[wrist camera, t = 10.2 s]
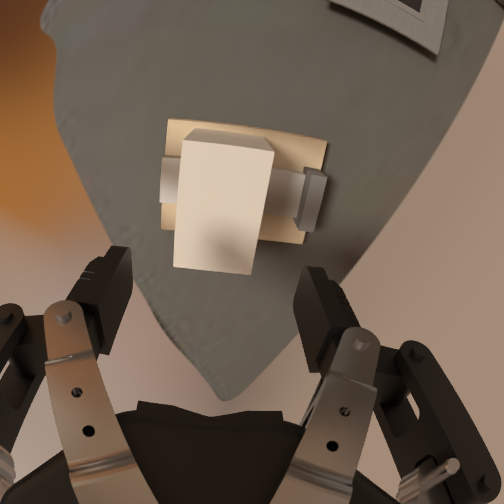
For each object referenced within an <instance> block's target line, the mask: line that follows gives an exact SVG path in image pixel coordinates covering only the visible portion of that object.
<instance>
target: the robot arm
mask: <svg viewBox="0 0 504 504" xmlns="http://www.w3.org/2000/svg"><path fill="white" fill-rule="evenodd" d="M497 1H498V2H499V3H500V4H501V5H503V6H504V0H497ZM132 286H133V276H132V260H131V249H130V248H129V247H121V246H111V247H110V249H109V250H108V252H107V253H106V255H105V256H104V257H97V258H96V259H94V260H93V261H91V262H90V263H89V264H88V265H87V267H86V268H85V270H84V272H83V273H82V274H81V276H80V279H78V281H77V282H76V284H75V285H74V287H73V289H72V290H71V292H70V293H69V295H68V296H67V298H66V300H63V301H58V302H56V303H54V304H52V305H50V306H49V307H48V308H47V309H46V311H45V313H44V315H36V316H35V315H34V316H25V315H24V313H23V310H22V308H21V307H20V306H19V305H17V304H13V303H8V304H4V305H2V306H0V373H1V371H2V370H3V368H4V366H5V364H6V363H7V361H9V362H10V364H9V366H8V367H7V369H6V371H5V373H4V374H3V376H2V378H1V380H0V504H487V503H489V502H491V501H493V500H494V499H495V498H496V497H497V496H498V494H499V492H500V489H501V477H500V474H499V472H498V470H497V467H496V465H495V463H494V461H493V459H492V457H491V456H490V453H489V451H488V449H487V447H486V445H485V443H484V441H483V439H482V437H481V436H480V434H479V432H478V430H477V428H476V426H475V424H474V423H473V421H472V419H471V417H470V415H469V414H468V412H467V410H466V408H465V407H464V405H463V403H462V402H461V400H460V398H459V396H458V395H457V393H456V392H455V390H454V388H453V386H452V385H451V383H450V381H449V380H448V378H447V376H446V375H445V373H444V372H443V370H442V368H441V367H440V365H439V364H438V362H437V361H436V359H435V358H434V356H433V354H432V353H431V352H430V350H429V349H428V348H427V347H426V346H425V345H423V344H422V343H419V342H417V341H412V340H409V341H406V342H404V343H403V344H402V346H401V347H400V349H399V350H398V349H393V348H389V347H385V346H381V345H380V342H379V340H378V338H377V337H376V336H375V335H374V334H373V333H372V332H370V331H368V330H366V329H364V328H361V327H360V325H359V322H358V320H357V318H356V316H355V314H354V312H353V310H352V308H351V306H350V304H349V302H348V300H347V299H346V296H345V294H344V292H343V290H342V288H341V287H340V286H339V285H338V284H337V283H336V282H335V281H332V280H329V279H328V277H327V275H326V273H325V270H324V269H323V268H321V267H311V266H304V267H303V269H302V272H301V276H300V279H299V283H298V286H297V290H296V293H295V296H294V302H293V310H294V314H295V318H296V322H297V326H298V330H299V333H300V337H301V341H302V344H303V348H304V353H305V357H306V361H307V364H308V368H309V372H310V373H317V372H318V373H320V374H321V379H320V381H319V383H318V385H317V387H316V390H315V392H314V394H313V396H312V399H311V401H310V403H309V405H308V408H307V410H306V412H305V414H304V416H303V418H302V420H301V422H300V424H299V425H297V424H294V423H291V422H287V421H283V414H282V411H244V412H238V413H233V414H227V415H221V416H215V417H208V416H204V415H201V414H198V413H194V412H191V411H188V410H185V409H182V408H179V407H176V406H172V405H165V404H157V403H150V402H144V401H138V405H137V410H134V411H126V412H122V413H119V414H115V413H114V410H113V407H112V405H111V402H110V400H109V397H108V394H107V392H106V389H105V386H104V383H103V380H102V377H101V374H100V371H99V368H98V365H97V359H98V356H99V354H105V355H109V354H110V351H111V348H112V345H113V342H114V339H115V337H116V334H117V331H118V328H119V326H120V322H121V320H122V317H123V315H124V312H125V310H126V307H127V304H128V301H129V299H130V297H131V294H132V288H133V287H132ZM44 376H46V377H47V383H48V389H49V393H50V398H51V404H52V408H53V413H54V417H55V421H56V425H57V429H58V433H59V437H60V440H61V444H62V447H63V450H62V451H60V452H59V453H58V454H56V455H55V456H53V457H52V458H51V459H49V460H48V461H46V462H45V463H44V464H42V465H41V466H39V467H38V468H37V469H35V470H34V471H32V472H31V473H29V474H28V475H27V476H25V477H24V478H22V479H21V480H19V481H18V482H16V483H15V484H14V482H13V480H14V479H15V477H16V473H15V471H14V462H13V458H12V456H11V455H10V453H11V451H12V448H13V446H14V443H15V440H16V438H17V435H18V433H19V431H20V428H21V426H22V423H23V421H24V419H25V417H26V414H27V412H28V410H29V408H30V405H31V403H32V401H33V399H34V397H35V395H36V393H37V391H38V388H39V386H40V384H41V382H42V380H43V378H44ZM410 393H411V394H412V396H413V398H414V400H415V402H416V404H417V406H418V408H419V412H420V415H419V419H417V417H416V415H415V413H414V411H413V409H412V407H411V405H410V403H409V401H408V399H407V396H408V395H409V394H410ZM373 411H374V413H375V415H376V418H377V420H378V422H379V425H380V427H381V430H382V432H383V434H384V437H385V439H386V442H387V444H388V447H389V449H390V452H391V454H392V457H393V459H394V462H395V464H396V467H397V470H398V472H399V474H400V477H401V482H400V484H399V488H398V493H397V494H396V499H394V498H393V497H391V496H390V495H389V494H387V493H386V492H385V491H384V490H382V489H381V488H380V487H378V486H377V485H376V484H374V483H373V482H372V481H370V480H369V479H368V478H367V477H365V476H364V475H363V474H362V473H360V472H359V471H358V470H357V469H356V468H357V465H358V462H359V459H360V456H361V452H362V449H363V446H364V442H365V439H366V435H367V432H368V427H369V424H370V420H371V416H372V412H373Z"/></svg>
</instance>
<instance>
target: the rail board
mask: <svg viewBox="0 0 504 504" xmlns="http://www.w3.org/2000/svg"><path fill="white" fill-rule="evenodd" d="M194 128H204V129H213V130H222V131H230V132H237V133H244V134H251V135H257V136H263V137H264V138H265V140H266V141H267V142H268V144H269V145H270V146H271V148H272V149H273V150H274V152H275V153H274V158H273V163H272V169H271V174H270V179H269V184H268V189H267V194H266V199H265V204H264V209H263V215H262V220H261V225H260V230H259V235H258V239H260V240H269V241H278V242H287V243H295V244H303V240H304V236H305V232H314V229H315V225H316V221H317V217H318V214H319V210H320V206H321V202H322V198H323V194H324V190H325V186H326V182H327V178H328V177H327V176H325V175H324V174H323V173H322V172H321V167H322V162H323V158H324V154H325V149H326V144H327V141H325V140H323V139H318V138H314V137H309V136H304V135H299V134H293V133H288V132H282V131H276V130H270V129H264V128H258V127H251V126H244V125H236V124H228V123H220V122H210V121H200V120H189V119H175V118H170V119H168V127H167V137H166V149H165V155H164V156H163V157H162V168H161V184H160V202H162V216H161V229H165V230H175V222H176V207H177V194H178V182H179V171H180V161H181V151H182V142H183V139H184V138H185V137H186V136H187V135H188V134H189V133H190V132H191V131H192V130H193V129H194Z"/></svg>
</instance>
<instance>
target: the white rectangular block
mask: <svg viewBox="0 0 504 504" xmlns="http://www.w3.org/2000/svg"><path fill="white" fill-rule="evenodd" d="M274 153H275V152H274V150H273V149H272V148H271V146H270V145H269V144H268V142H267V141H266V140H265V138H264V137H263V136H257V135H251V134H244V133H237V132H230V131H222V130H213V129H204V128H194V129H193V130H192V131H191V132H190V133H189V134H188V135H187V136H186V137H185V138H184V139H183V142H182V151H181V161H180V171H179V182H178V194H177V207H176V222H175V240H174V263H173V267H181V268H190V269H199V270H208V271H218V272H227V273H237V274H246V275H251V271H252V265H253V260H254V255H255V250H256V245H257V240H258V235H259V230H260V225H261V220H262V215H263V209H264V204H265V199H266V194H267V189H268V184H269V179H270V174H271V169H272V163H273V158H274Z"/></svg>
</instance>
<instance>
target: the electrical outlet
mask: <svg viewBox="0 0 504 504" xmlns="http://www.w3.org/2000/svg"><path fill="white" fill-rule="evenodd" d="M327 1H330V2H332V3H335V4H338V5H340V6H343V7H345V8H347V9H350V10H352V11H355V12H357V13H359V14H361V15H364V16H366V17H368V18H370V19H372V20H374V21H376V22H378V23H380V24H382V25H384V26H386V27H388V28H390V29H392V30H394V31H396V32H398V33H400V34H401V35H403V36H405V37H407V38H408V39H410V40H412V41H414V42H415V43H417V44H419V45H420V46H422V47H424V48H425V49H427V50H428V51H430V52H432V53H433V54H435V55H438V53H439V48H440V44H441V39H442V34H443V29H444V23H445V18H446V12H447V6H448V0H327Z"/></svg>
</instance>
